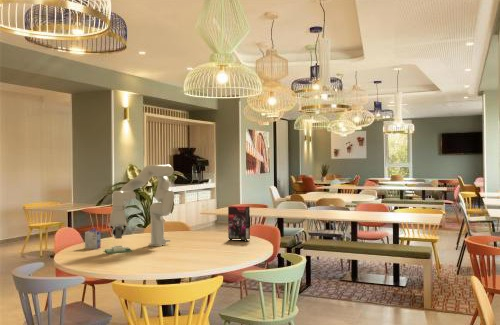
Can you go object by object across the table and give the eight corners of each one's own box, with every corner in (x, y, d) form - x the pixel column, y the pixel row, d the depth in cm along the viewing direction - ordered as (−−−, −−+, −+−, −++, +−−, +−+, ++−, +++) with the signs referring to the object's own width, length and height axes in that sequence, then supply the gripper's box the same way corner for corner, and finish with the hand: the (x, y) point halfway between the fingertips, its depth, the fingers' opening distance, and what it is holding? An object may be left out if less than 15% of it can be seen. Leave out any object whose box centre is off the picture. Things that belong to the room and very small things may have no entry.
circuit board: (128, 249, 319) (128, 244, 319) (131, 251, 307) (131, 247, 307) (104, 250, 312) (104, 246, 312) (107, 253, 300) (107, 249, 300)
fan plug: (120, 237, 313) (120, 225, 314) (122, 238, 305) (122, 227, 305) (114, 237, 311) (114, 226, 312) (116, 239, 303) (116, 227, 304)
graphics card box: (227, 240, 357) (227, 206, 358) (232, 239, 363) (232, 205, 364) (245, 242, 348) (245, 206, 349) (250, 240, 354) (250, 206, 355)
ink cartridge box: (101, 247, 325) (101, 227, 325) (97, 249, 320) (97, 228, 320) (88, 247, 327) (88, 227, 327) (84, 248, 322) (84, 228, 322)
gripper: (129, 208, 317) (129, 234, 317) (104, 208, 310) (104, 235, 309) (131, 208, 311) (131, 235, 310) (106, 209, 303) (106, 236, 303)
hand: (117, 235), depth 310 cm, fingers closed on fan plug, 4 cm apart
